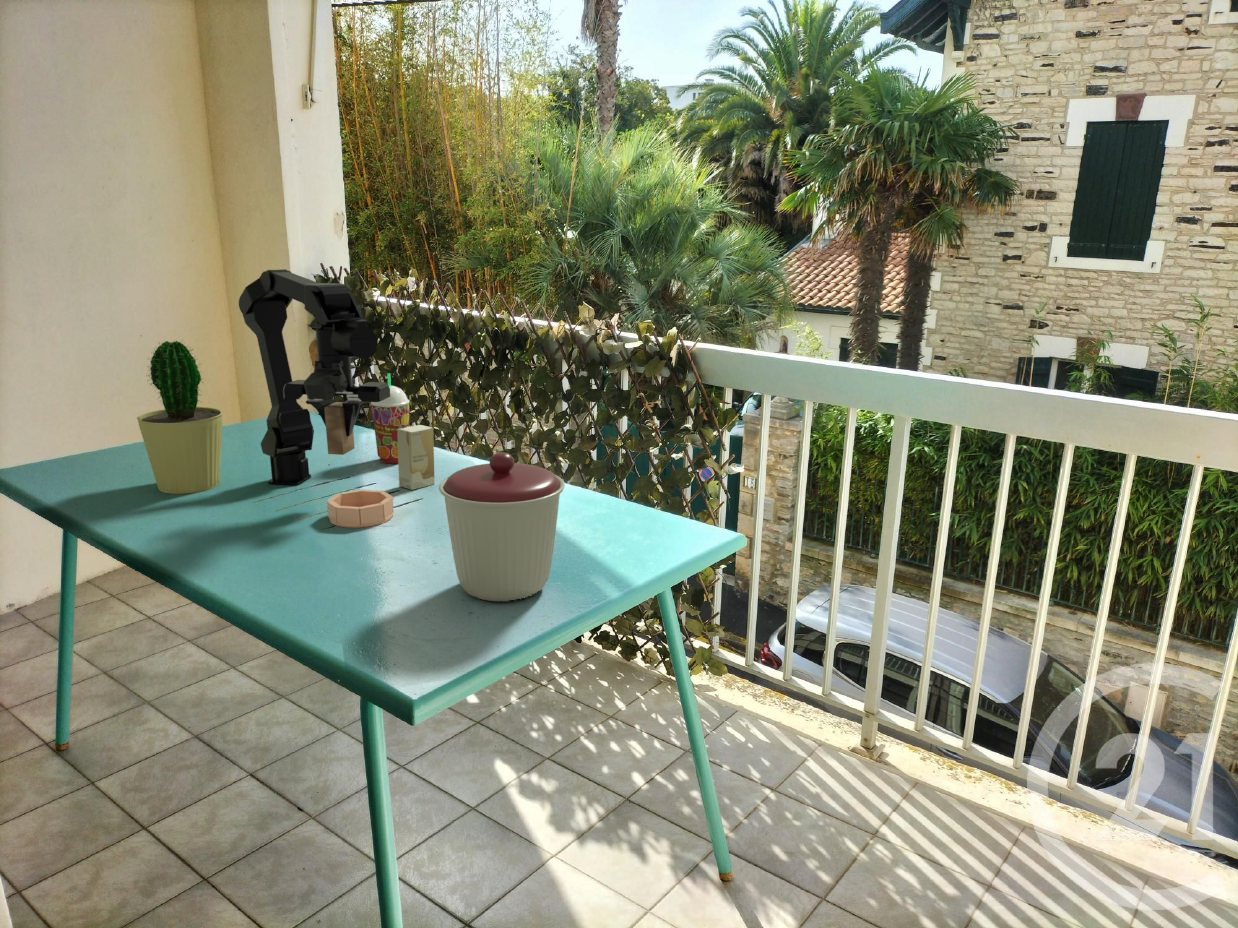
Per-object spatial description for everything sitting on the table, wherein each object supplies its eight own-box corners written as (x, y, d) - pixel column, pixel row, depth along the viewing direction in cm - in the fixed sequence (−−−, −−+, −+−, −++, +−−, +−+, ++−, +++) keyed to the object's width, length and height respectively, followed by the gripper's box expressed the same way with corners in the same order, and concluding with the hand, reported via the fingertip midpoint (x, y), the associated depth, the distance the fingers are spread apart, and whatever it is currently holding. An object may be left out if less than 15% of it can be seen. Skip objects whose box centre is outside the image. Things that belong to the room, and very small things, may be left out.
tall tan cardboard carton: (328, 454, 161) (324, 407, 159) (339, 447, 166) (336, 402, 164) (343, 454, 161) (339, 407, 159) (354, 448, 166) (351, 402, 164)
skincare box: (412, 490, 174) (409, 432, 171) (398, 486, 177) (395, 429, 174) (436, 483, 179) (434, 426, 176) (422, 479, 182) (420, 423, 179)
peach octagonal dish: (318, 525, 154) (317, 506, 153) (345, 505, 165) (344, 488, 164) (378, 529, 152) (377, 510, 152) (401, 509, 163) (400, 491, 162)
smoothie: (367, 463, 193) (361, 375, 188) (387, 454, 201) (382, 369, 195) (400, 467, 191) (395, 378, 185) (419, 457, 199) (415, 372, 193)
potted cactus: (245, 476, 182) (230, 334, 174) (204, 498, 167) (186, 344, 159) (176, 472, 183) (158, 331, 175) (129, 494, 168) (107, 341, 160)
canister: (434, 572, 135) (428, 442, 129) (545, 559, 141) (545, 434, 135) (455, 622, 118) (449, 475, 113) (579, 604, 125) (581, 464, 119)
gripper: (263, 358, 152) (272, 443, 156) (364, 361, 150) (370, 447, 154) (294, 350, 163) (301, 430, 167) (388, 352, 161) (393, 433, 165)
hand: (340, 435), depth 163 cm, fingers closed on tall tan cardboard carton, 3 cm apart
